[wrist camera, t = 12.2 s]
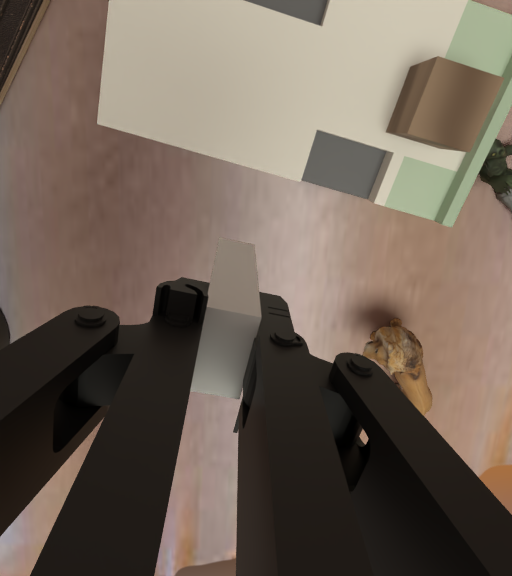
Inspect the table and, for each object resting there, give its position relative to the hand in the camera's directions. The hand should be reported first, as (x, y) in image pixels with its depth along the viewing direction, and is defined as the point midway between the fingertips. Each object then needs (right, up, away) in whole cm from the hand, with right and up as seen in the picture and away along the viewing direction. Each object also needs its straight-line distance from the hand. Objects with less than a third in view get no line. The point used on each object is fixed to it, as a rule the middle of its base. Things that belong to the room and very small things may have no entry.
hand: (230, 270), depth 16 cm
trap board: (+5, +17, +17) cm, 25 cm away
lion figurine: (+17, -8, +28) cm, 34 cm away
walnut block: (+15, +14, +15) cm, 26 cm away
